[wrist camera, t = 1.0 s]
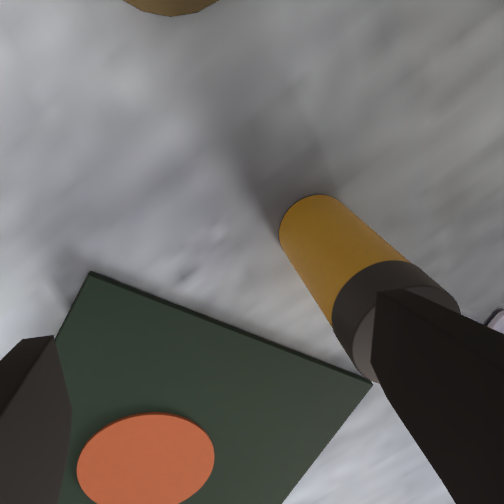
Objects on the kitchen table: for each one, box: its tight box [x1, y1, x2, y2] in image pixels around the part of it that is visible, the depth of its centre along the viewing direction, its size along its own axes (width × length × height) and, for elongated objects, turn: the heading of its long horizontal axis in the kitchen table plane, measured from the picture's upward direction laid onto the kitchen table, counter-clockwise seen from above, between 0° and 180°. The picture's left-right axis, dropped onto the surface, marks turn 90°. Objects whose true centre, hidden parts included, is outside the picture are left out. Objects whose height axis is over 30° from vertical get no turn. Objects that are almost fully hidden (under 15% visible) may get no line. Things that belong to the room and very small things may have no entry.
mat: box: [55, 271, 373, 504], centre depth 25 cm, size 16×16×1 cm
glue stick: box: [279, 195, 461, 384], centre depth 18 cm, size 4×4×8 cm
